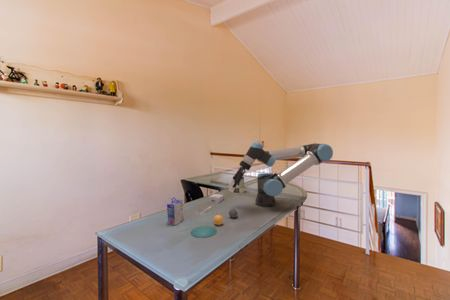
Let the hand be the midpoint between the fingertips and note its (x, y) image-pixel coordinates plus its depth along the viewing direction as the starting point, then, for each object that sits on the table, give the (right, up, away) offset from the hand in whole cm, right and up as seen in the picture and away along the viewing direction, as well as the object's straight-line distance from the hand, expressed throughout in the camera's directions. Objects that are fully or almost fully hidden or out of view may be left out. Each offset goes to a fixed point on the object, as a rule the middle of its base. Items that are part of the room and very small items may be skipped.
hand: (229, 189), depth 148 cm
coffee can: (+9, -12, +51) cm, 53 cm away
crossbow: (-17, -16, +3) cm, 23 cm away
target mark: (-15, -17, -30) cm, 38 cm away
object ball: (-7, -14, -21) cm, 26 cm away
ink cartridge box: (-33, -17, -16) cm, 40 cm away
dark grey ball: (+2, -13, -10) cm, 17 cm away
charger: (-9, -14, +29) cm, 33 cm away
